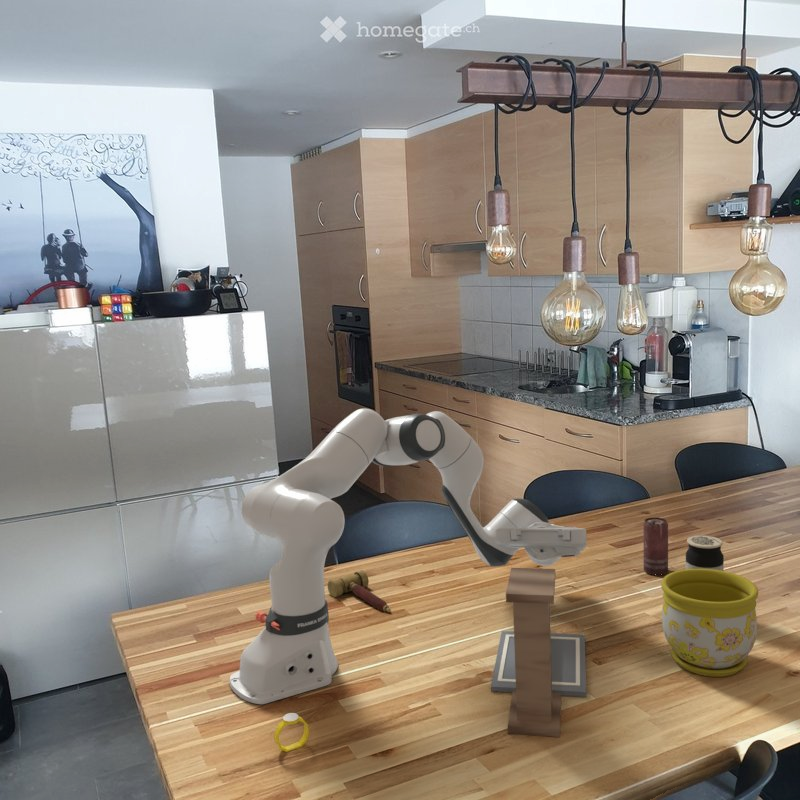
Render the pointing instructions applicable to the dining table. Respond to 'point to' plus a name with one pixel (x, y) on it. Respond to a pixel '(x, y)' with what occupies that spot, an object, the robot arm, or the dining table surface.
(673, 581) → the flowerpot
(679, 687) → the dining table surface
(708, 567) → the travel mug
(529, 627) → the stand
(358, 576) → the gavel
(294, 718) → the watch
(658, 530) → the can
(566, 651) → the mat
